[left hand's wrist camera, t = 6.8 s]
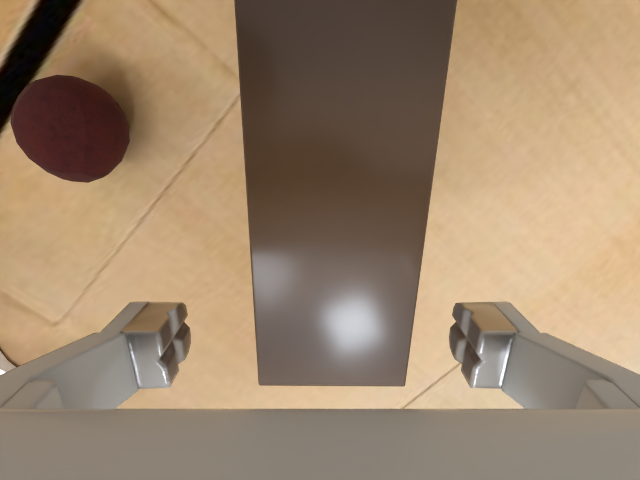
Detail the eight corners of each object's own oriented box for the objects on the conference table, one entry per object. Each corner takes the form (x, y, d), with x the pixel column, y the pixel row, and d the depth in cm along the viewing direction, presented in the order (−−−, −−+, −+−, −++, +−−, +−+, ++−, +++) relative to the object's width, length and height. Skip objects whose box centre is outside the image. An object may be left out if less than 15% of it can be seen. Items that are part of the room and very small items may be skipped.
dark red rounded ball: (148, 92, 28) (96, 87, 22) (142, 182, 31) (94, 203, 24) (55, 67, 27) (-28, 54, 21) (56, 162, 30) (-16, 177, 24)
